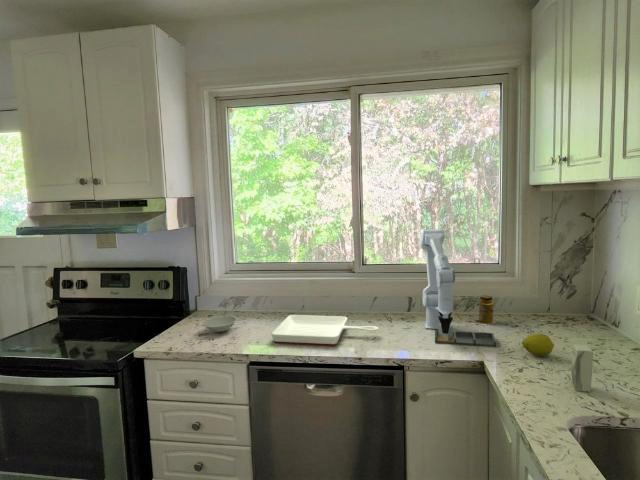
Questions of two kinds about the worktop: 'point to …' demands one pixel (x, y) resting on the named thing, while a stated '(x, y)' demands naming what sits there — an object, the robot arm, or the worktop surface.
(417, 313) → the worktop surface
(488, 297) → the condiment
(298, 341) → the pan
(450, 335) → the pale blue block
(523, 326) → the worktop surface
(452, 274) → the robot arm
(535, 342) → the lemon
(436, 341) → the tray
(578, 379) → the box
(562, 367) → the worktop surface
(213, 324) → the dish
